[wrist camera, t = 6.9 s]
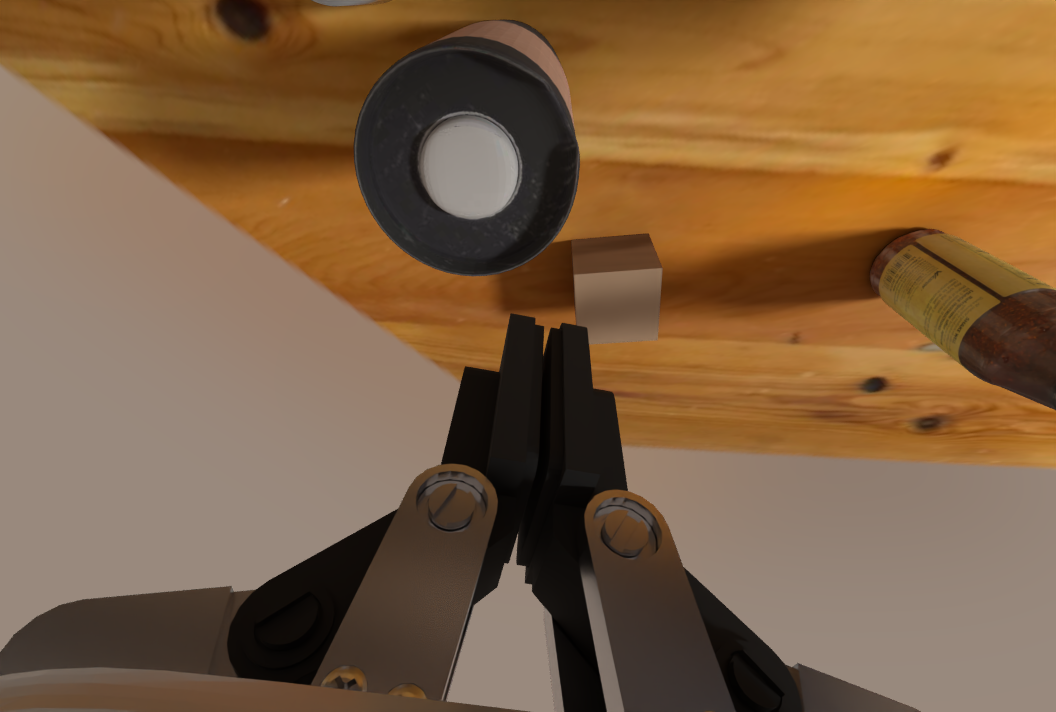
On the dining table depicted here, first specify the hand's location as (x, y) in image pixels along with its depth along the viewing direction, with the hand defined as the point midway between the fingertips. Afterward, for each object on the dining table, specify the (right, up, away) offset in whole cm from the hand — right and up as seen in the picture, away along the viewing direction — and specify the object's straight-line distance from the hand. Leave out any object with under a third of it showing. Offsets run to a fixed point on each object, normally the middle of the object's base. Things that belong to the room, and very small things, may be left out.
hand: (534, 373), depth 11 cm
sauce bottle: (+30, +8, +28) cm, 42 cm away
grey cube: (+7, +7, +29) cm, 31 cm away
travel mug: (-1, +18, +21) cm, 28 cm away
